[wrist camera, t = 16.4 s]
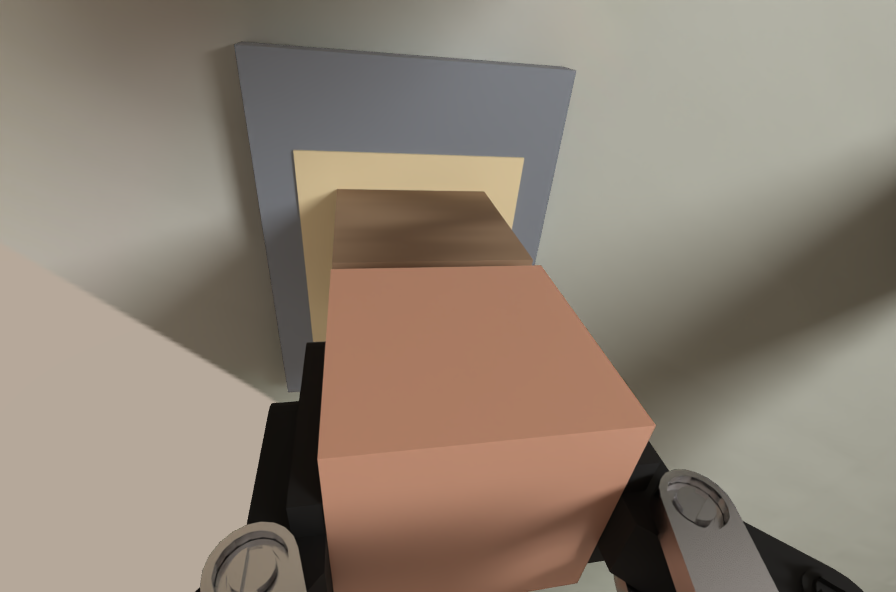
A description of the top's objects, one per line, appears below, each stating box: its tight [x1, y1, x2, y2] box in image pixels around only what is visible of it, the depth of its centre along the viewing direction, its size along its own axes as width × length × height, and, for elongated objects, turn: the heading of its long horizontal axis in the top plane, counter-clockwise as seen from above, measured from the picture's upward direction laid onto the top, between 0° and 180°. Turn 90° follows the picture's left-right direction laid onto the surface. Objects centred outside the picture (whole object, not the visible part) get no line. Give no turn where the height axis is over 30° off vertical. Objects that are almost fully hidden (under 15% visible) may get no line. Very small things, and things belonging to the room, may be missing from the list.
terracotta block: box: [317, 265, 656, 592], centre depth 10 cm, size 5×5×5 cm
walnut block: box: [332, 189, 533, 269], centre depth 14 cm, size 5×5×5 cm
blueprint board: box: [234, 42, 576, 392], centre depth 17 cm, size 10×13×1 cm
